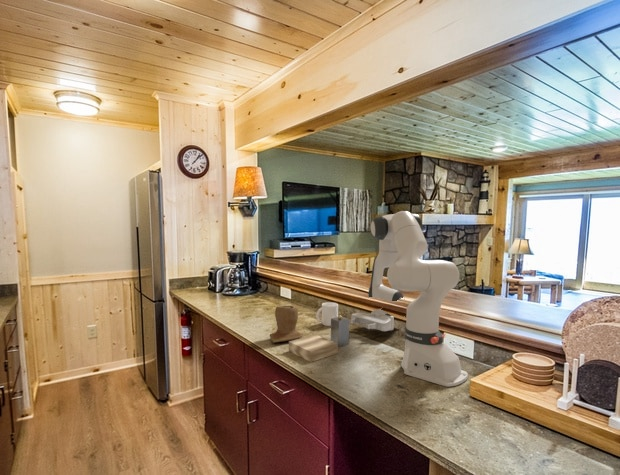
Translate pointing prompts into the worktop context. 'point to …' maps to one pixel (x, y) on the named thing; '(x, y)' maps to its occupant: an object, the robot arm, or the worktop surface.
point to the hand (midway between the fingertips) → (359, 324)
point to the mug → (327, 313)
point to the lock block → (340, 330)
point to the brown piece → (285, 324)
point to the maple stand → (313, 347)
